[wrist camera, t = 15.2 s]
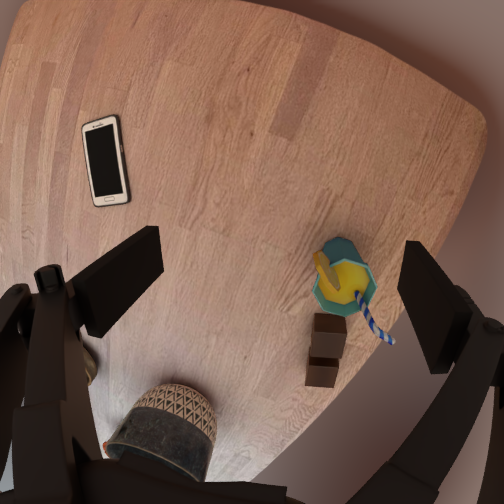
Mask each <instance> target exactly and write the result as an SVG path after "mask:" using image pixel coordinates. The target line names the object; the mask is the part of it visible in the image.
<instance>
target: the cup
mask: <svg viewBox="0 0 504 504" xmlns="http://www.w3.org/2000/svg"><path fill="white" fill-rule="evenodd" d="M313 258H314V262H315V266H316V269H317V271H318V275H317V279H316V281H315V284H314V286H313V290H312V292H313V294H314V296H315V298H316V299H317V301H318V303H319V305H320V307H321V309H322V310H323V311H326V312H329V313H333V314H336V315H340V316H343V317H347V316H349V315H351V314H354V313H356V312H359V311H361V310H362V312H363V314H364V316H365V318H366V321H367V323H368V325H369V327H370V328H371V330H372V331H373V333H374V334H375V335H376V336H378V337H380V338H381V339H383V340H385V341H386V342H388V343H389V344H391V345H393V344H394V343H395V339H394V338H393V337H391V336H390V335H388V334H387V333H385V332H384V331H382V330H381V329H380V328H379V327H378V326H377V325H376V323H375V322H374V320H373V318H372V316H371V314H370V312H369V310H368V306H369V304H370V302H371V300H372V298H373V296H374V294H375V291H376V289H377V284H376V282H375V279H374V277H373V275H372V272H371V270H370V268H369V266H368V264H367V263H364V262H363V260H362V259H361V257H360V255H359V253H358V252H357V250H356V248H355V247H354V245H353V243H352V242H351V241H350V240H346V239H343V238H340V237H336V238H334V239H332V240H330V241H328V242H326V243H325V245H324V248H323V251H322V250H320V251H317V252H315V253H313Z"/></svg>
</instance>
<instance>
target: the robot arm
mask: <svg viewBox="0 0 504 504" xmlns="http://www.w3.org/2000/svg"><path fill="white" fill-rule="evenodd" d="M163 272H164V267H163V259H162V252H161V244H160V235H159V226H145V227H144V228H142V229H141V230H139V231H138V232H136V233H135V234H133V235H132V236H130V237H129V238H128V239H126V240H125V241H123V242H122V243H120V244H119V245H117V246H116V247H114V248H113V249H112V250H110V251H109V252H107V253H106V254H104V255H103V256H102V257H100V258H99V259H97V260H96V261H95V262H93V263H92V264H90V265H89V266H88V267H86V268H85V269H84V270H82V271H81V272H79V273H78V274H77V275H75V276H74V277H73V278H71V279H70V280H69V281H68V282H66V283H65V281H64V277H63V273H62V269H61V266H60V265H58V264H52V265H47V266H44V267H41V268H39V269H38V270H37V271H35V273H34V277H35V280H36V284H37V287H38V290H39V293H35V294H31V292H30V289H29V286H28V284H25V283H21V284H15V285H13V286H12V287H11V288H9V289H8V290H7V291H6V292H5V293H4V295H3V296H2V297H1V299H0V481H1V478H2V475H3V472H4V469H5V466H6V462H7V458H8V453H9V449H10V444H11V441H12V464H13V482H14V489H12V490H8V491H5V492H1V491H0V504H305V503H303V502H301V501H298V500H296V499H293V498H290V497H287V496H286V491H287V487H286V486H275V485H267V484H259V483H252V482H245V481H237V482H198V481H194V480H192V479H190V478H188V477H186V476H184V475H182V474H180V473H179V472H177V471H175V470H173V469H171V468H169V467H168V466H166V465H164V464H162V463H161V462H159V461H155V460H152V459H149V458H146V457H143V456H140V455H137V454H134V453H132V452H129V451H126V450H124V452H123V454H122V455H121V457H120V459H112V458H107V459H103V457H102V454H101V450H100V446H99V442H98V438H97V433H96V428H95V424H94V419H93V414H92V408H91V403H90V397H89V391H88V384H87V377H86V370H85V362H84V353H83V342H82V335H81V332H80V328H81V327H82V326H83V325H84V324H85V327H86V330H87V333H88V335H90V336H93V337H97V338H101V339H102V337H103V336H104V335H105V334H106V333H107V332H108V331H109V330H110V329H111V327H112V326H113V325H114V324H115V323H116V322H117V321H118V320H119V319H120V318H121V316H122V315H123V314H124V313H125V312H126V311H127V310H128V309H129V308H130V307H131V306H132V305H133V304H134V302H135V301H136V300H137V299H138V298H139V297H140V296H141V295H142V294H143V293H144V292H145V291H146V290H147V289H148V288H149V287H150V285H151V284H152V283H153V282H154V281H155V280H156V279H157V278H158V277H159V276H160V275H161V274H162V273H163ZM397 290H398V292H399V294H400V296H401V299H402V301H403V303H404V306H405V308H406V310H407V313H408V315H409V318H410V320H411V322H412V325H413V327H414V330H415V332H416V335H417V338H418V340H419V343H420V345H421V348H422V351H423V353H424V356H425V359H426V362H427V365H428V367H429V370H430V373H431V374H444V373H448V372H449V370H450V367H451V365H452V363H453V361H454V363H455V366H454V368H453V369H452V371H451V373H450V375H449V376H448V378H447V380H446V381H445V383H444V385H443V386H442V388H441V389H440V391H439V393H438V394H437V396H436V397H435V399H434V401H433V402H432V403H431V405H430V406H429V408H428V409H427V411H426V412H425V414H424V415H423V417H422V418H421V420H420V421H419V422H418V424H417V425H416V426H415V428H414V429H413V431H412V432H411V433H410V435H409V436H408V437H407V438H406V440H405V441H404V442H403V444H402V445H401V446H400V447H399V449H398V450H397V451H396V452H395V454H394V455H393V456H392V457H391V458H390V459H389V461H386V462H385V463H384V464H383V465H382V466H381V467H380V469H379V470H378V471H377V472H376V473H375V474H374V475H373V476H372V477H371V478H370V479H369V480H368V481H367V483H366V484H365V485H364V486H363V487H362V488H361V489H360V490H359V491H358V492H357V493H356V494H355V495H354V496H353V497H352V498H351V499H350V500H349V501H348V502H347V503H346V504H433V503H434V502H435V500H436V498H437V497H438V494H439V491H438V488H439V487H440V485H441V483H442V482H443V480H444V478H445V477H446V475H447V474H448V472H449V470H450V468H451V467H452V465H453V463H454V462H455V460H456V458H457V456H458V454H459V453H460V451H461V449H462V447H463V445H464V443H465V441H466V439H467V437H468V435H469V433H470V431H471V429H472V427H473V425H474V423H475V420H476V418H477V416H478V414H479V412H480V409H481V407H482V404H483V402H484V400H485V397H486V395H487V392H488V390H489V387H490V386H494V387H495V391H494V407H493V419H492V429H491V436H490V443H489V450H488V456H487V461H486V467H485V472H484V476H483V481H482V485H481V489H480V493H479V497H478V501H477V504H504V325H503V324H501V323H500V322H499V321H497V320H495V319H492V318H488V317H484V315H483V314H482V312H481V311H480V309H479V308H478V307H477V305H476V304H474V301H473V300H472V299H471V297H470V296H469V294H468V293H467V292H466V291H465V290H464V289H462V288H461V287H460V286H458V285H453V283H452V282H451V280H450V279H449V278H448V277H447V275H446V274H445V273H444V271H443V270H442V269H441V268H440V266H439V265H438V264H437V262H436V261H435V260H434V258H433V257H432V256H431V255H430V253H429V252H428V251H427V250H426V249H425V247H424V246H423V245H422V244H421V243H420V241H408V240H406V245H405V251H404V257H403V262H402V267H401V272H400V277H399V282H398V286H397ZM18 330H19V331H18ZM19 332H20V333H19ZM23 398H24V406H22V407H21V404H22V401H23Z"/></svg>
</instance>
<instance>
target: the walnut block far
mask: <svg viewBox="0 0 504 504" xmlns="http://www.w3.org/2000/svg"><path fill="white" fill-rule="evenodd" d="M310 349H311V347H309V354H308V360H307V366H306V378H305V386H312V387H326V388H334V384H335V381H336V377H337V373H338V370H339V359H338V358H324V357H311V356H310Z"/></svg>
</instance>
